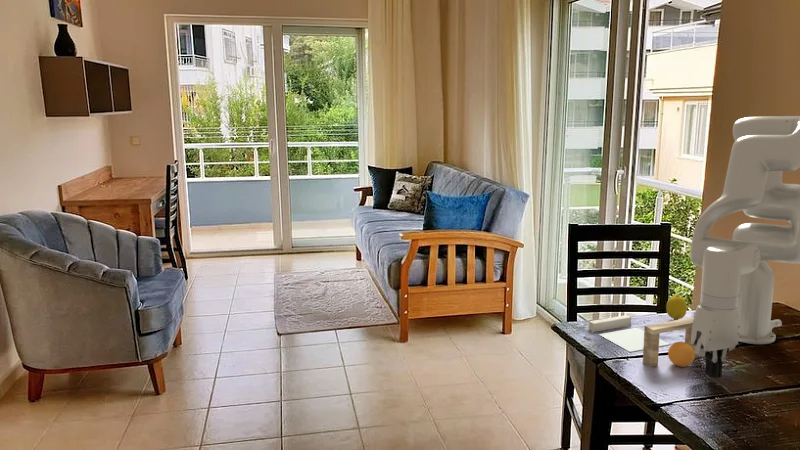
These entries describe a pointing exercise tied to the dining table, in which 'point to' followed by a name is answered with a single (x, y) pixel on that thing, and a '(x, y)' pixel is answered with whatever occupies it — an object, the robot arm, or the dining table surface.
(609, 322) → the wall
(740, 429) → the dining table surface
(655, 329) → the bridge
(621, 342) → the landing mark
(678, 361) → the ball
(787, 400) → the dining table surface
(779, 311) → the dining table surface
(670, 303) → the lemon
